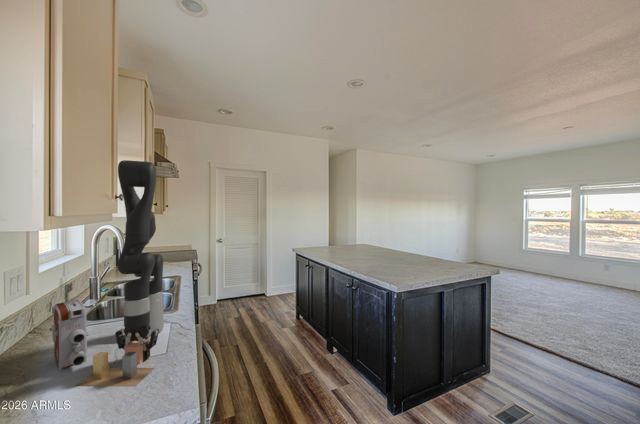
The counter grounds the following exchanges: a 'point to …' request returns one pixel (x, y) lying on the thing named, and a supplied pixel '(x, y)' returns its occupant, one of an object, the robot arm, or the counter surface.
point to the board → (116, 378)
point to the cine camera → (69, 334)
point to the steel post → (129, 365)
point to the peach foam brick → (136, 350)
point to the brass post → (100, 365)
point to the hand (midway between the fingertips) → (137, 359)
